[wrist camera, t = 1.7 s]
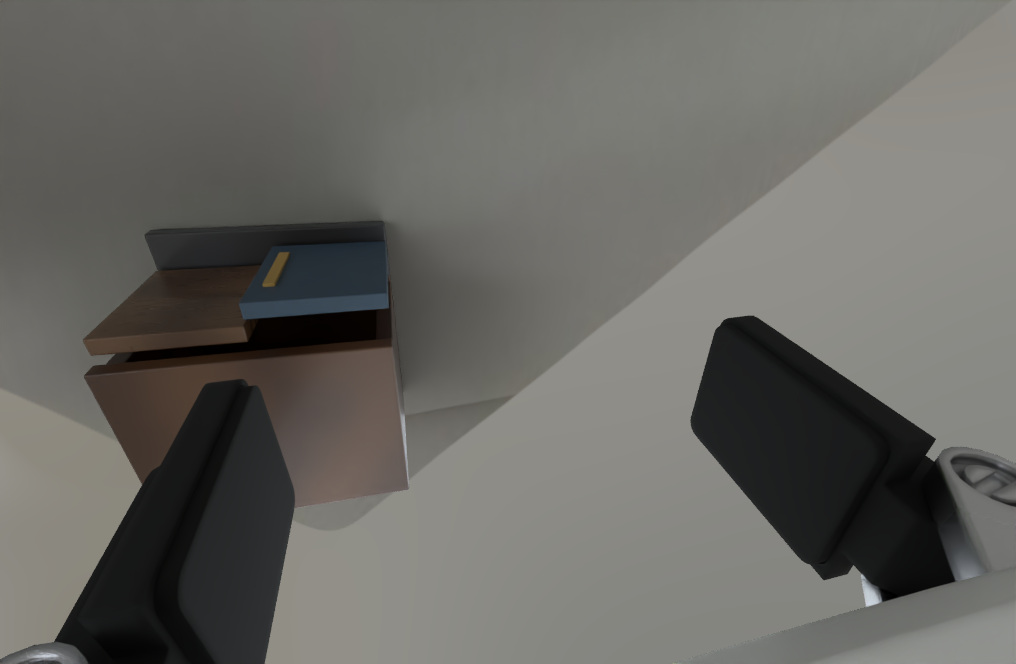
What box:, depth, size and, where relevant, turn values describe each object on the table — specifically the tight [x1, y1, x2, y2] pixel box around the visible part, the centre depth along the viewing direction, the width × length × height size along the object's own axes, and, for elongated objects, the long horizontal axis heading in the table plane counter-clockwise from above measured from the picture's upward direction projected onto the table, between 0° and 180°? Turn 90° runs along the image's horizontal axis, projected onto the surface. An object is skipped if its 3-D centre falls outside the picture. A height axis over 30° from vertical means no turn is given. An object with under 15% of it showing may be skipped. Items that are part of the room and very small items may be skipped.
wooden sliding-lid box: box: [83, 221, 409, 508], centre depth 25 cm, size 12×13×9 cm
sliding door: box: [239, 241, 389, 320], centre depth 23 cm, size 6×1×7 cm, turn 88°
